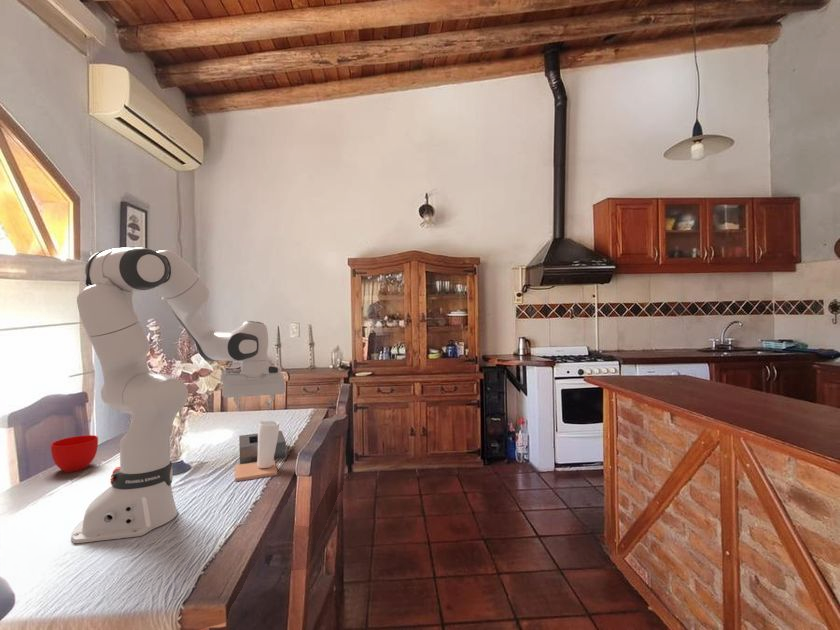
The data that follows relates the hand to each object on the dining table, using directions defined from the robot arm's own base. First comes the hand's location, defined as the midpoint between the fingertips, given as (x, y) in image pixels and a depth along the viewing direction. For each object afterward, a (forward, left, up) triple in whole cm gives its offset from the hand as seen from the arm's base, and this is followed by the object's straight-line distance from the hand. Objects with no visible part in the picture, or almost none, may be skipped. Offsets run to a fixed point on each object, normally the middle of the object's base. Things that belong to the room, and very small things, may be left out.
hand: (254, 408), depth 145 cm
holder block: (+3, +18, -22) cm, 28 cm away
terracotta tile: (0, 0, -22) cm, 22 cm away
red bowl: (-58, +33, -22) cm, 70 cm away
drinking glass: (+3, +1, -21) cm, 21 cm away
